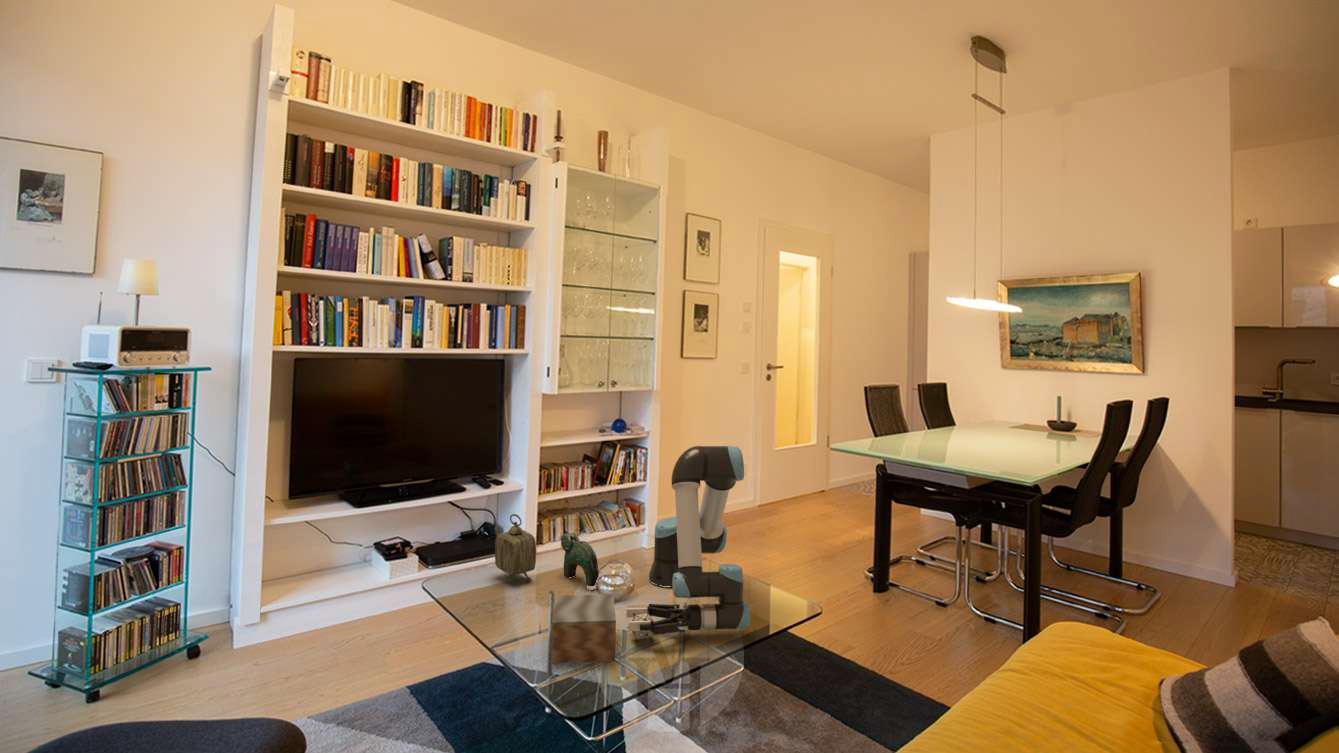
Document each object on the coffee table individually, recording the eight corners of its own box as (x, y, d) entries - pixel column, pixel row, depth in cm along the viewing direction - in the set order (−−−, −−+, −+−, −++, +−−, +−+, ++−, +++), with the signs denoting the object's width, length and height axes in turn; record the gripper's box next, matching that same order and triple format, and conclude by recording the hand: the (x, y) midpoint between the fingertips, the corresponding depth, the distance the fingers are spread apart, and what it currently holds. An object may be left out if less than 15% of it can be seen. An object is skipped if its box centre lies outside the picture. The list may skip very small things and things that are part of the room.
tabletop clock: (535, 582, 239) (536, 516, 237) (515, 589, 232) (515, 521, 230) (513, 571, 249) (514, 508, 247) (493, 577, 242) (493, 512, 240)
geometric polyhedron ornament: (646, 652, 196) (653, 636, 190) (621, 640, 197) (627, 624, 191) (656, 628, 203) (663, 611, 196) (632, 616, 204) (638, 599, 197)
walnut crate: (612, 630, 202) (613, 594, 202) (615, 660, 185) (615, 620, 184) (554, 632, 200) (555, 595, 199) (551, 663, 182) (552, 622, 181)
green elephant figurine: (558, 575, 245) (559, 524, 244) (573, 571, 250) (573, 521, 248) (588, 592, 231) (589, 538, 229) (603, 588, 235) (604, 535, 233)
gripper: (706, 645, 190) (629, 648, 187) (694, 613, 210) (625, 615, 207) (707, 621, 189) (630, 623, 186) (695, 591, 210) (625, 593, 207)
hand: (627, 619), depth 197 cm, fingers closed on geometric polyhedron ornament, 8 cm apart
